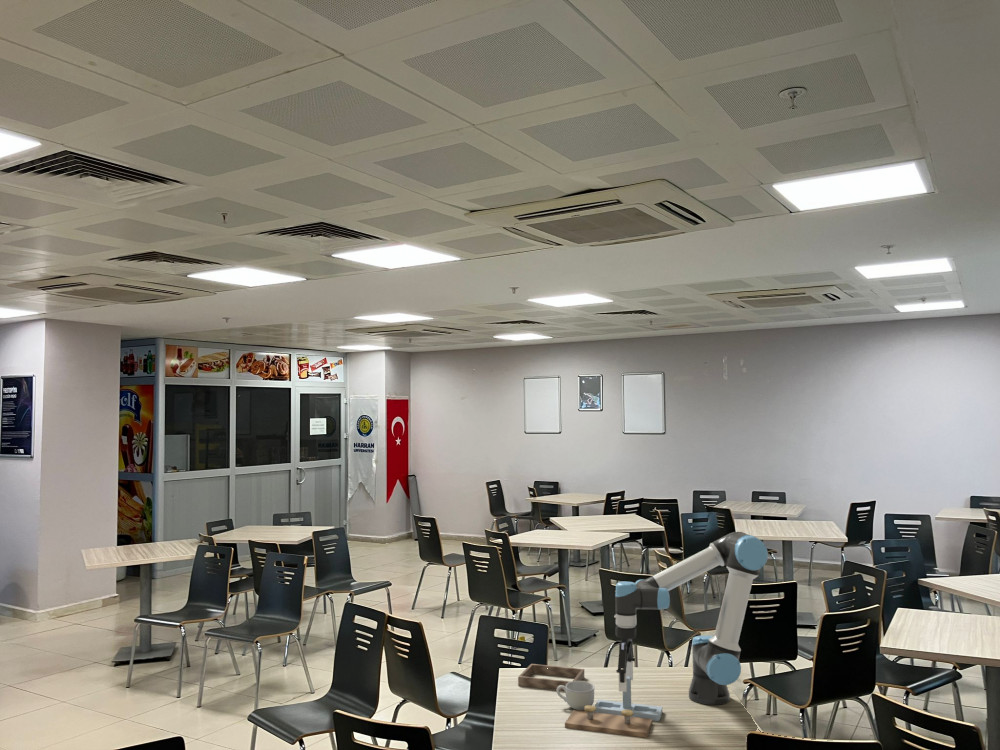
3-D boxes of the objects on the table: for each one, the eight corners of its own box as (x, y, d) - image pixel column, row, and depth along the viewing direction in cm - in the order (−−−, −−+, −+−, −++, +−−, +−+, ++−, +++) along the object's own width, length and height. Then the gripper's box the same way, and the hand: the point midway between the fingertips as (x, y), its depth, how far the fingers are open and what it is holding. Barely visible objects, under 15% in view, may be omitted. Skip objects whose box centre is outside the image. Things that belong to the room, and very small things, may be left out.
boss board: (652, 723, 269) (651, 707, 269) (646, 737, 257) (646, 720, 257) (573, 714, 278) (573, 698, 278) (564, 727, 266) (564, 711, 266)
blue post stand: (662, 712, 280) (661, 677, 281) (659, 721, 271) (658, 684, 272) (598, 705, 287) (598, 670, 288) (593, 713, 279) (592, 678, 280)
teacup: (597, 704, 288) (597, 682, 289) (591, 714, 278) (591, 691, 279) (561, 700, 293) (561, 678, 293) (553, 709, 283) (553, 687, 283)
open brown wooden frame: (584, 677, 319) (584, 669, 319) (574, 691, 302) (574, 682, 302) (531, 672, 327) (531, 663, 327) (518, 685, 310) (518, 676, 310)
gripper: (621, 617, 295) (621, 674, 293) (609, 633, 271) (609, 695, 269) (641, 618, 292) (641, 676, 291) (630, 635, 269) (630, 697, 267)
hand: (626, 685), depth 280 cm, fingers open, 13 cm apart
